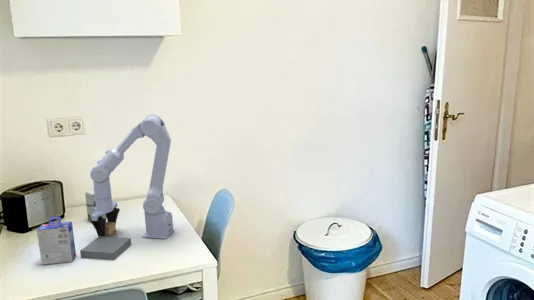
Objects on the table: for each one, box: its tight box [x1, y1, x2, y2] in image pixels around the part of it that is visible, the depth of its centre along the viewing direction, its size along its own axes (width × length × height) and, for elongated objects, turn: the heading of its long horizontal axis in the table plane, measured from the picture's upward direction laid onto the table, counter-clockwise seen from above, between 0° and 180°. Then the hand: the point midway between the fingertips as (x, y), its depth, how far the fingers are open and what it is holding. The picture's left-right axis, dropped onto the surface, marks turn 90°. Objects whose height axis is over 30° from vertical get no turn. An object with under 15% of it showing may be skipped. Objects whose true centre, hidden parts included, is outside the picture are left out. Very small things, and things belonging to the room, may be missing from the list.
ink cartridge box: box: [36, 216, 77, 265], centre depth 152 cm, size 10×6×14 cm, turn 101°
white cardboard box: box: [84, 189, 107, 222], centre depth 189 cm, size 9×5×12 cm, turn 143°
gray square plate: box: [79, 236, 132, 261], centre depth 160 cm, size 12×12×3 cm
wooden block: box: [105, 221, 117, 237], centre depth 171 cm, size 4×4×5 cm
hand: (106, 232), depth 171 cm, fingers open, 7 cm apart
